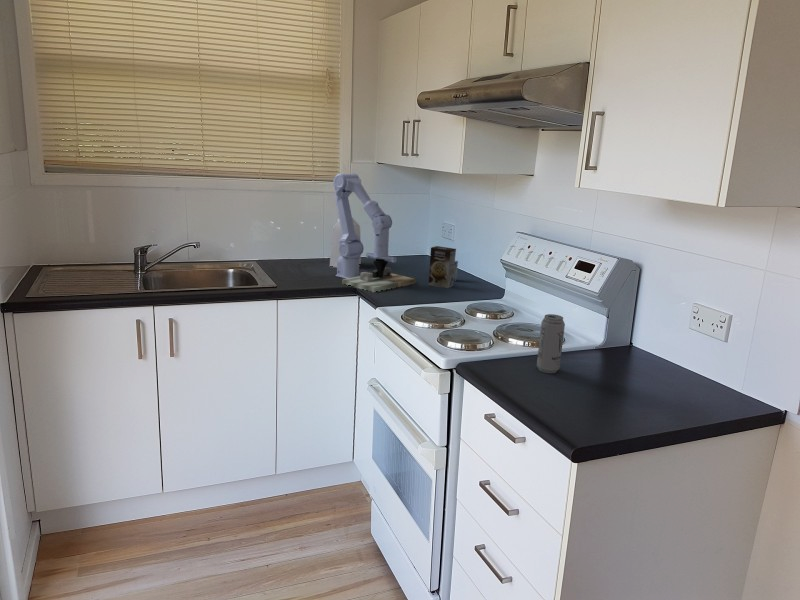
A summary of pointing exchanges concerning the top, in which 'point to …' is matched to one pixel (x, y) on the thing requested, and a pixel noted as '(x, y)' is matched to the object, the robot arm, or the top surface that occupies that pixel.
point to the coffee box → (442, 266)
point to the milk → (335, 241)
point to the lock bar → (386, 272)
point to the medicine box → (455, 271)
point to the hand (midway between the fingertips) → (380, 277)
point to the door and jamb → (378, 281)
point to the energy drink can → (550, 343)
